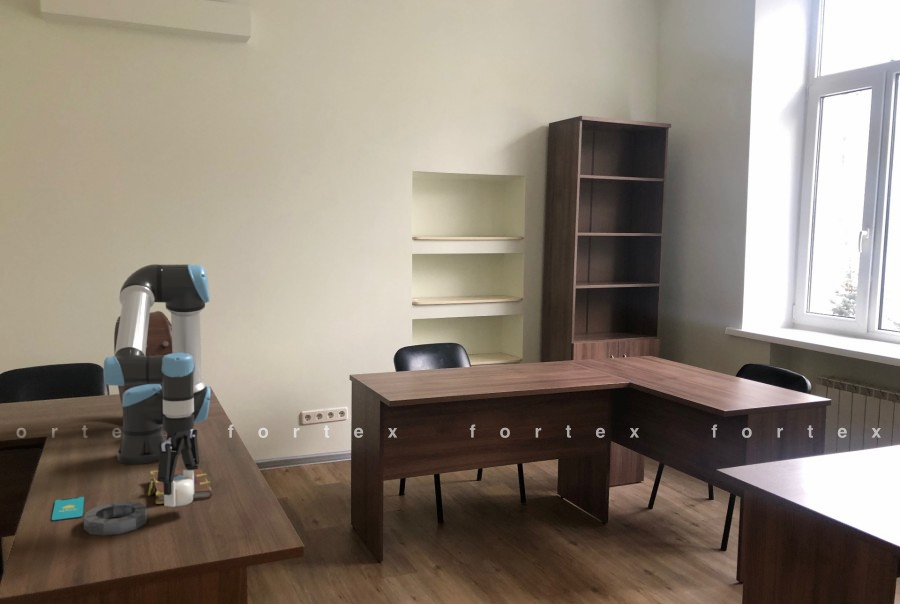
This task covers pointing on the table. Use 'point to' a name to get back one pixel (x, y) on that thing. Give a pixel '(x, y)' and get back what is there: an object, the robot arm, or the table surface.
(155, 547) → the table surface
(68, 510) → the smartphone
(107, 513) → the faceted grey ring
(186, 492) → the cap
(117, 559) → the table surface
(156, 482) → the book
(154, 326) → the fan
